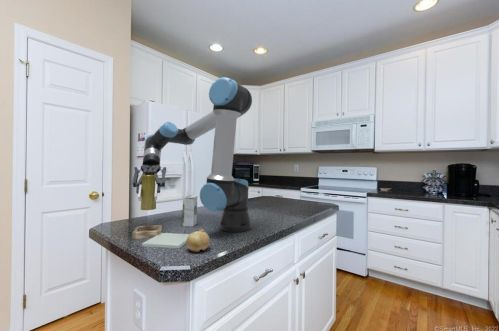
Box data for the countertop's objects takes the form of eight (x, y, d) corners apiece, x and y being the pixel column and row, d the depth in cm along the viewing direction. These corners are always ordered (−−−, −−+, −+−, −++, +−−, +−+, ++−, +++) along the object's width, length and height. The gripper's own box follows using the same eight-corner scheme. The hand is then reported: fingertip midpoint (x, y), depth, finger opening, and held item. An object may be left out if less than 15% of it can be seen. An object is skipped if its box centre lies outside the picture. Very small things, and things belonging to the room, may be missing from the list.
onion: (208, 254, 78) (208, 232, 78) (184, 254, 78) (184, 232, 78) (210, 246, 86) (210, 226, 86) (188, 246, 85) (188, 226, 86)
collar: (162, 230, 106) (162, 224, 106) (160, 237, 96) (160, 230, 96) (136, 232, 103) (136, 226, 103) (132, 239, 93) (132, 232, 93)
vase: (137, 210, 97) (137, 175, 97) (145, 207, 103) (145, 175, 103) (152, 210, 96) (152, 175, 96) (158, 207, 102) (158, 174, 103)
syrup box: (185, 223, 119) (185, 194, 119) (197, 224, 118) (197, 195, 119) (181, 226, 113) (182, 196, 113) (194, 226, 113) (194, 196, 113)
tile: (193, 236, 97) (193, 234, 97) (178, 248, 83) (178, 245, 83) (161, 235, 99) (161, 232, 99) (141, 246, 85) (141, 243, 85)
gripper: (172, 165, 117) (171, 203, 101) (131, 165, 112) (123, 205, 96) (172, 154, 112) (171, 192, 96) (129, 153, 107) (120, 193, 91)
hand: (147, 198), depth 96 cm, fingers closed on vase, 5 cm apart
